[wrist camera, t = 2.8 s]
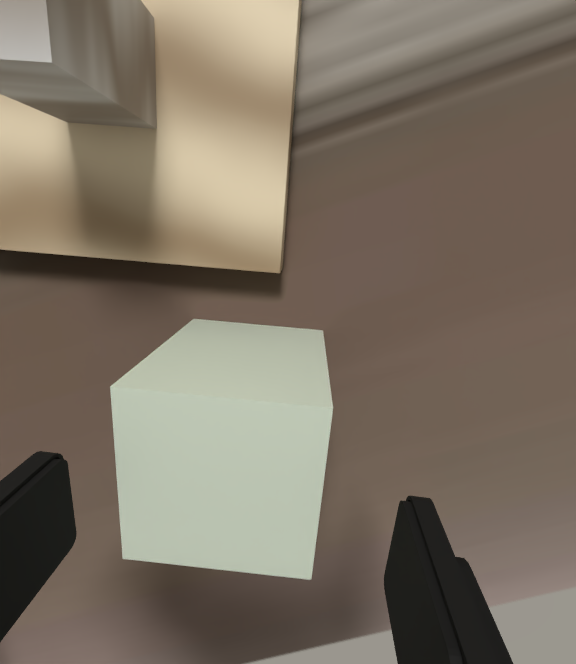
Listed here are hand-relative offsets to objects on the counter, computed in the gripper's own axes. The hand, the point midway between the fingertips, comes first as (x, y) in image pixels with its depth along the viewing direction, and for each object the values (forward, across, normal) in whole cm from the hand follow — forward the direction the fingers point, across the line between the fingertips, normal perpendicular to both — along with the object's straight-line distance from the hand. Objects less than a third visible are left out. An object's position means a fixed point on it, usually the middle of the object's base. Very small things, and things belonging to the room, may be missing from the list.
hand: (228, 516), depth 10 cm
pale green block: (+9, +1, 0) cm, 9 cm away
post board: (+9, +7, -13) cm, 17 cm away
